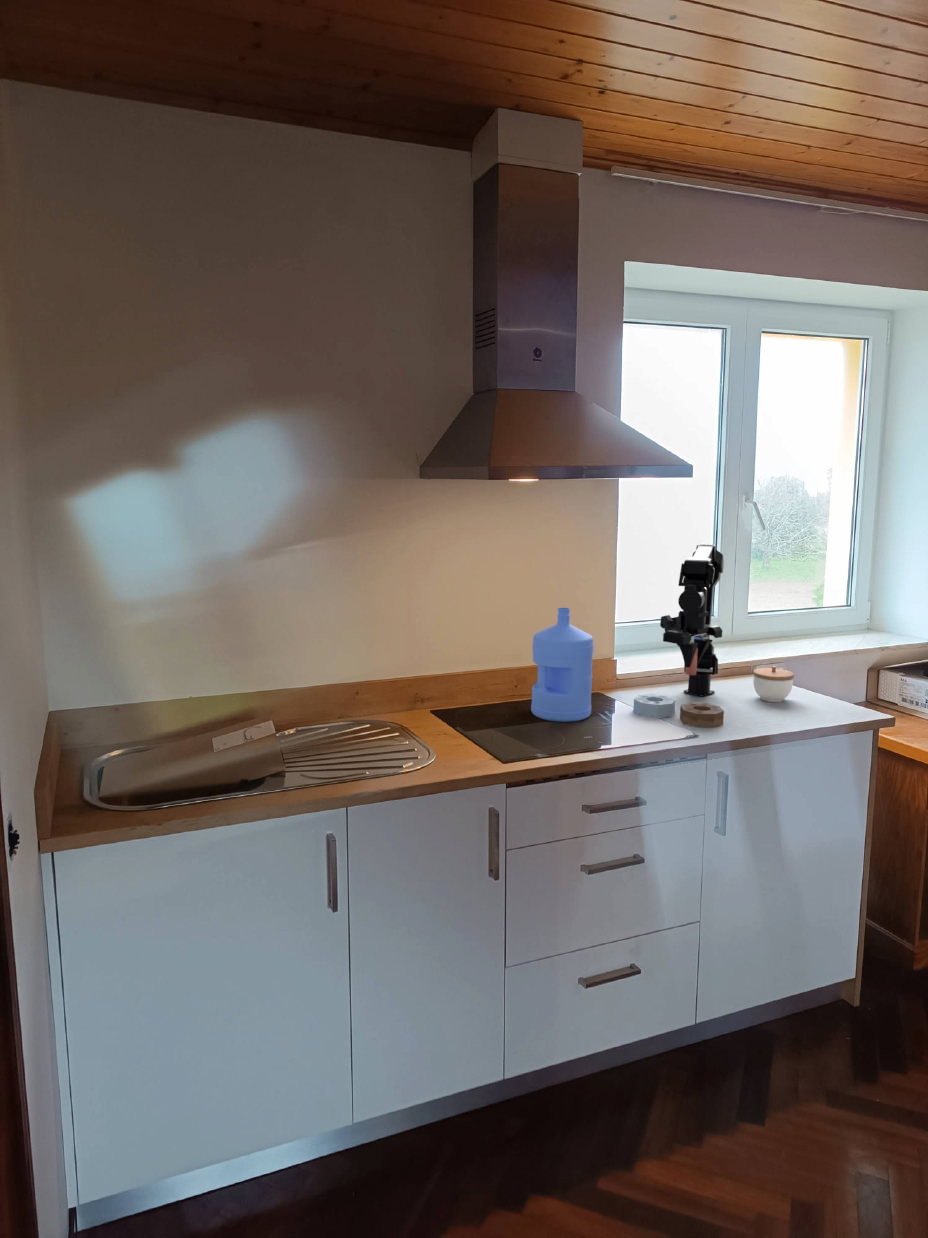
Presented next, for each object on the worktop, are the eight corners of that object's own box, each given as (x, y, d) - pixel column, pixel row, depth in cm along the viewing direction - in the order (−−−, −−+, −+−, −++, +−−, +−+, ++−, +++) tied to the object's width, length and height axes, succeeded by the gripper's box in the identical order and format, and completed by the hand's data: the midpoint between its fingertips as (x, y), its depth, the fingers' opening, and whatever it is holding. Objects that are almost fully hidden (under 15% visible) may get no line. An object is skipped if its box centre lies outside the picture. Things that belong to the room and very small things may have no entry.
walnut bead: (695, 713, 225) (695, 700, 224) (729, 722, 218) (730, 708, 217) (673, 721, 218) (673, 707, 218) (707, 729, 211) (708, 716, 210)
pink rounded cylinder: (689, 672, 226) (690, 646, 225) (698, 674, 224) (700, 648, 223) (682, 673, 224) (684, 647, 223) (692, 675, 222) (693, 649, 221)
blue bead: (640, 705, 233) (640, 692, 232) (677, 709, 228) (677, 697, 228) (630, 714, 224) (631, 701, 223) (668, 719, 220) (669, 706, 219)
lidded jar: (752, 702, 236) (754, 669, 235) (751, 692, 246) (753, 661, 245) (793, 705, 233) (796, 672, 232) (790, 695, 243) (793, 663, 242)
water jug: (564, 702, 235) (567, 602, 230) (603, 716, 222) (607, 610, 217) (519, 711, 226) (521, 606, 221) (556, 726, 213) (559, 615, 208)
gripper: (689, 601, 233) (685, 657, 236) (647, 606, 221) (644, 665, 224) (725, 605, 225) (721, 664, 228) (683, 612, 213) (680, 673, 215)
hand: (691, 666), depth 224 cm, fingers closed on pink rounded cylinder, 3 cm apart
